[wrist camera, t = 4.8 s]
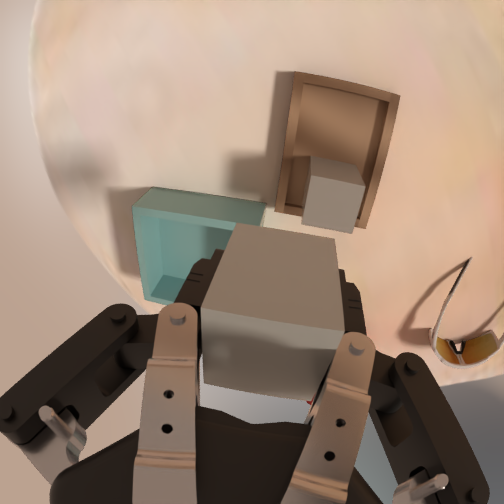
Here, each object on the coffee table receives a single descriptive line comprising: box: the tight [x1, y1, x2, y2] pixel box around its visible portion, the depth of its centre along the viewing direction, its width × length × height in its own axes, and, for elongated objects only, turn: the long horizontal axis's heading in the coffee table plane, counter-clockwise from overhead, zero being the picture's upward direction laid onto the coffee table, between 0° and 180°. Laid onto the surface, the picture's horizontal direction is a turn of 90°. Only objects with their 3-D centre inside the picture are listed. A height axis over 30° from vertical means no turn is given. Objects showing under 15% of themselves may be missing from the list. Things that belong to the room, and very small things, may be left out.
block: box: [301, 156, 366, 234], centre depth 24 cm, size 4×4×5 cm
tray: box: [274, 71, 400, 229], centre depth 24 cm, size 13×9×1 cm
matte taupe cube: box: [201, 223, 345, 401], centre depth 11 cm, size 4×4×5 cm
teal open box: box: [132, 187, 266, 305], centre depth 31 cm, size 12×12×4 cm
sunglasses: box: [429, 257, 504, 369], centre depth 30 cm, size 14×15×5 cm
